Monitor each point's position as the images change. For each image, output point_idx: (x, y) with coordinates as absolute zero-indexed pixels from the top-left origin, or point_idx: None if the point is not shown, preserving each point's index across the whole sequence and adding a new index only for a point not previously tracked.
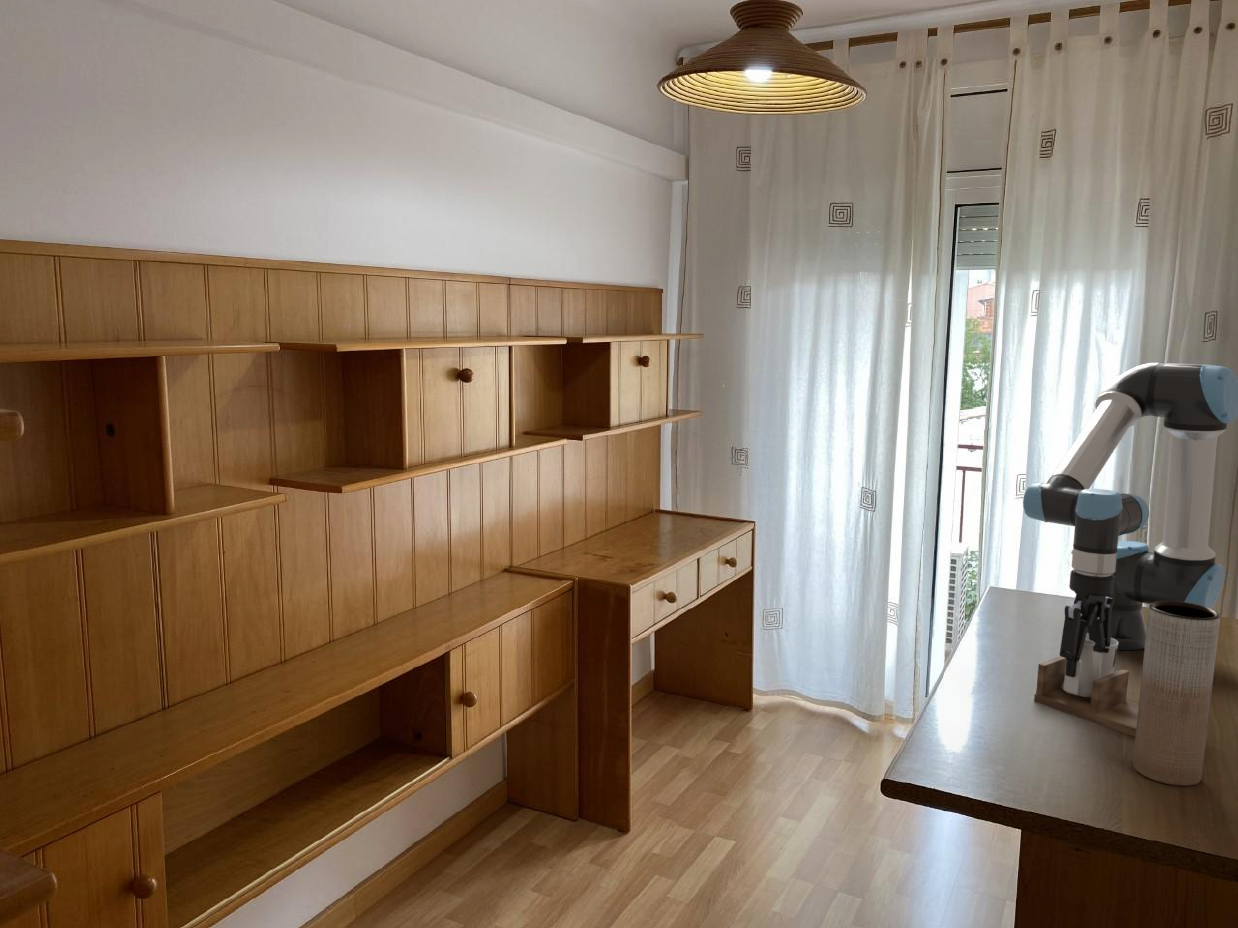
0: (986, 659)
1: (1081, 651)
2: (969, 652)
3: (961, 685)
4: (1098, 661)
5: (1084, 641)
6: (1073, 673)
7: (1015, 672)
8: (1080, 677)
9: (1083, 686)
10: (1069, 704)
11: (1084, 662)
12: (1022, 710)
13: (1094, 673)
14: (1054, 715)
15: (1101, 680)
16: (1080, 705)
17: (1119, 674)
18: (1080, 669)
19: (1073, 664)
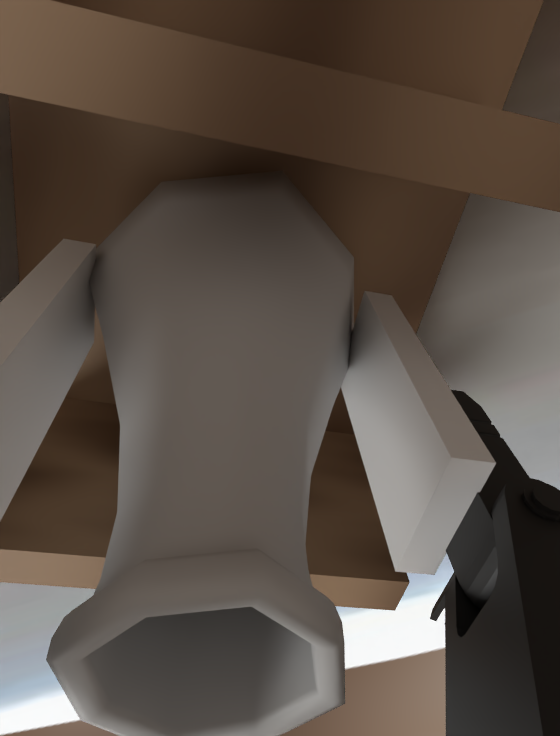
0: (25, 677)
1: (531, 569)
2: (14, 720)
3: (372, 632)
4: (21, 357)
5: (548, 733)
6: (474, 411)
7: (60, 587)
8: (398, 352)
9: (345, 296)
10: (405, 296)
11: (308, 432)
12: (508, 430)
13: (241, 294)
14: (490, 314)
15: (526, 151)
16: (380, 243)
17: (134, 29)
18: (442, 398)
19: (527, 476)
